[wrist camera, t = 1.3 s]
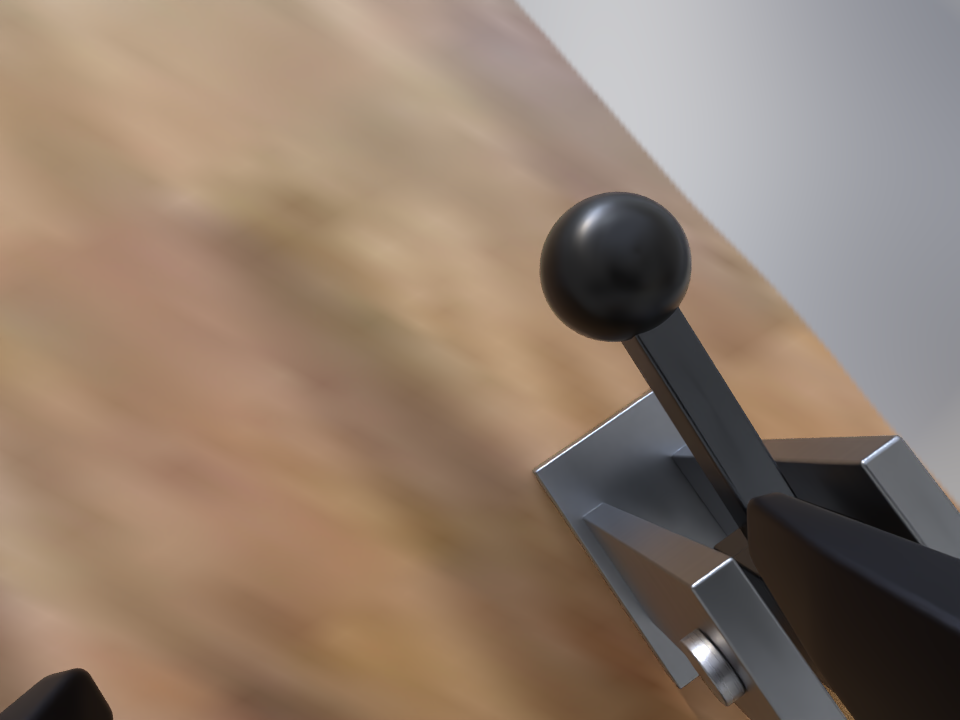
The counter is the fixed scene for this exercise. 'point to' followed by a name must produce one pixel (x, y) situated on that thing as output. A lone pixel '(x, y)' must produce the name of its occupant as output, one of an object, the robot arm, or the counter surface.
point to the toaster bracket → (705, 522)
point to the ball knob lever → (662, 347)
